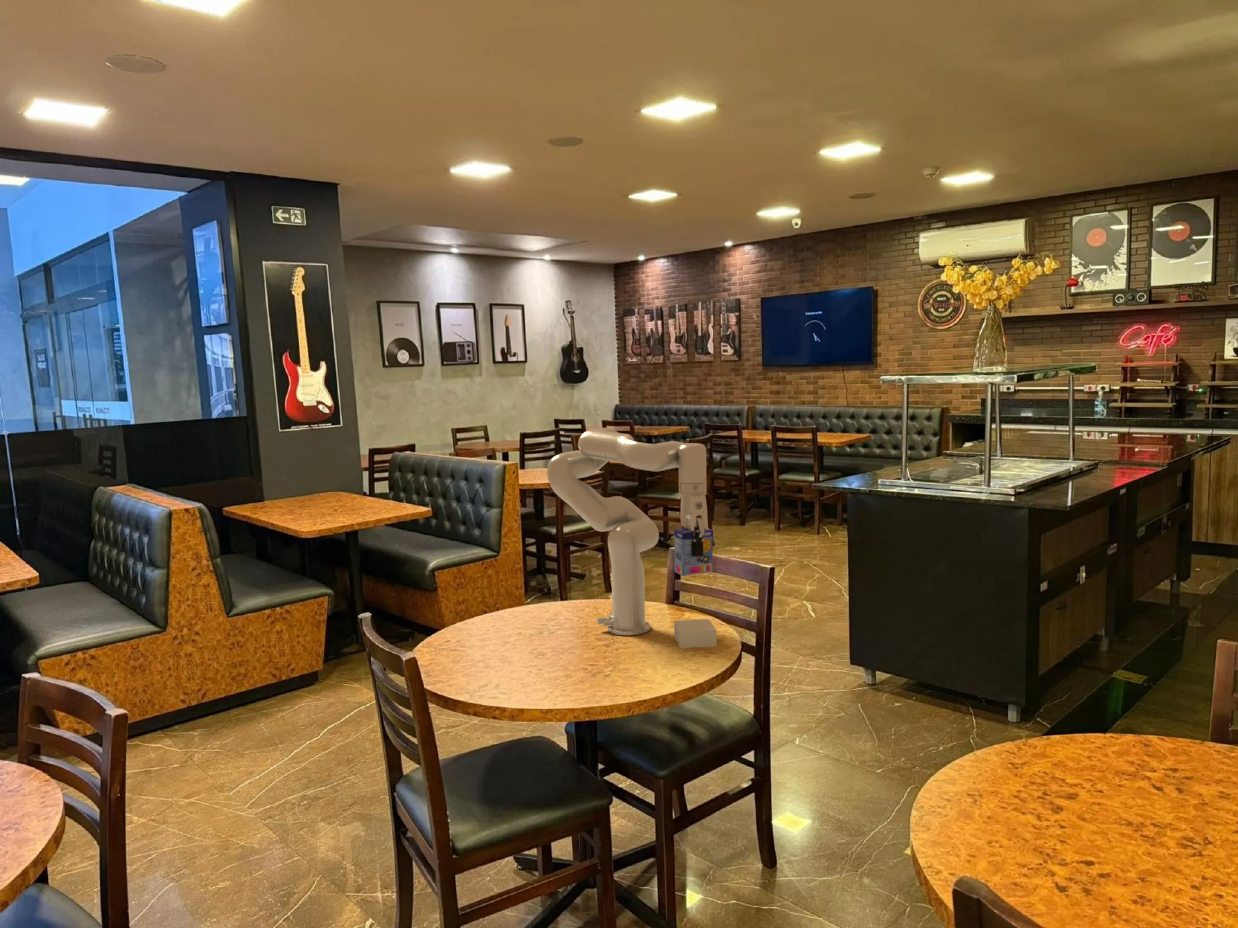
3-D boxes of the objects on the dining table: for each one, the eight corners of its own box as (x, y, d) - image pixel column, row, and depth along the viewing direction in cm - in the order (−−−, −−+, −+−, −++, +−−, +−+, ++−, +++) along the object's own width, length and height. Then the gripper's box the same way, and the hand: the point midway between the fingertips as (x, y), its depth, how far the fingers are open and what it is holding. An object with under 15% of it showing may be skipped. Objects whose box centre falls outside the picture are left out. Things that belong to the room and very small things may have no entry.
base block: (680, 649, 231) (680, 631, 231) (674, 637, 241) (674, 620, 240) (716, 647, 232) (716, 629, 232) (708, 635, 242) (708, 618, 241)
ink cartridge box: (683, 576, 229) (682, 524, 228) (673, 572, 234) (672, 521, 233) (714, 572, 234) (713, 520, 232) (703, 568, 239) (703, 517, 237)
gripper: (716, 492, 224) (717, 559, 226) (695, 483, 240) (695, 546, 242) (689, 493, 222) (690, 561, 224) (669, 485, 239) (670, 547, 241)
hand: (693, 552), depth 233 cm, fingers closed on ink cartridge box, 5 cm apart
